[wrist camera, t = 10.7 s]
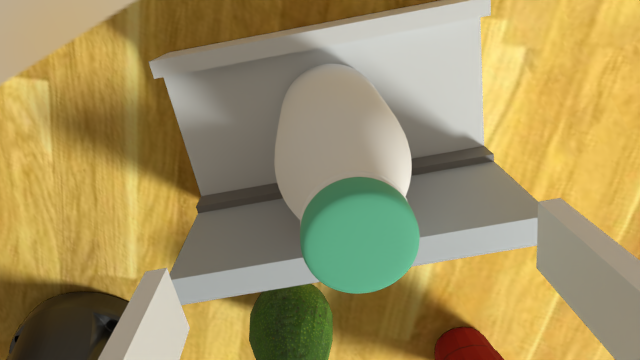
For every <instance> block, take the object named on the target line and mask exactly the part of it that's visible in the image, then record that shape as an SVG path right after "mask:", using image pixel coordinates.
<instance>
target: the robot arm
mask: <svg viewBox="0 0 640 360" xmlns="http://www.w3.org/2000/svg"><path fill="white" fill-rule="evenodd" d="M537 269H538V270H539V271H540V272H541V274H542V275H543V276H544V277H545V278H546V279H547V281H548V282H549V283H550V284H551V285H552V286H553V287H554V289H555V290H556V291H557V292H558V293H559V294H560V296H561V297H562V298H563V299H564V300H565V301H566V303H567V304H568V305H569V306H570V307H571V308H572V310H573V311H574V312H575V313H576V314H577V315H578V317H579V318H580V319H581V320H582V321H583V322H584V324H585V325H586V326H587V327H588V328H589V329H590V330H591V332H592V333H593V334H594V335H595V336H596V337H597V339H598V340H599V341H600V342H601V343H602V344H603V346H604V347H605V348H606V349H607V350H608V351H609V353H610V354H611V355H612V356H613V357H614V358H615V360H640V260H638V259H637V258H636V257H634V256H633V255H632V254H631V253H629V252H628V251H627V250H626V249H624V248H623V247H622V246H621V245H619V244H618V243H617V242H615V241H614V240H613V239H612V238H610V237H609V236H608V235H607V234H605V233H604V232H603V231H602V230H600V229H599V228H598V227H596V226H595V225H594V224H593V223H591V222H590V221H589V220H588V219H586V218H585V217H584V216H583V215H581V214H580V213H579V212H578V211H576V210H575V209H574V208H572V207H571V206H570V205H569V204H567V203H566V202H565V201H564V200H562V199H561V198H557V199H551V200H546V201H540V202H538V226H537ZM189 329H190V327H189V325H188V322H187V320H186V317H185V314H184V312H183V309H182V306H181V304H180V301H179V299H178V296H177V293H176V291H175V288H174V285H173V283H172V280H171V278H170V275H169V272H168V270H167V268H164V269H158V270H152V271H147V272H145V274H144V276H143V278H142V279H141V281H140V283H139V285H138V287H137V289H136V290H135V292H134V294H133V296H132V298H131V300H130V301H129V303H128V302H126V301H124V300H122V299H119V298H116V297H113V296H110V295H106V294H101V293H94V292H73V293H66V294H62V295H58V296H55V297H52V298H50V299H48V300H46V301H44V302H43V303H41V304H40V305H38V306H37V307H36V308H35V309H34V310H33V311H32V312H31V313H30V315H29V316H28V317H27V318H26V319H25V321H24V322H23V323H22V324H21V325H20V327H19V328H18V330H17V331H16V333H15V335H14V337H13V339H12V342H11V346H10V350H9V355H8V357H7V359H6V360H180V357H181V353H182V350H183V347H184V344H185V341H186V338H187V335H188V332H189Z"/></svg>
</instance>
